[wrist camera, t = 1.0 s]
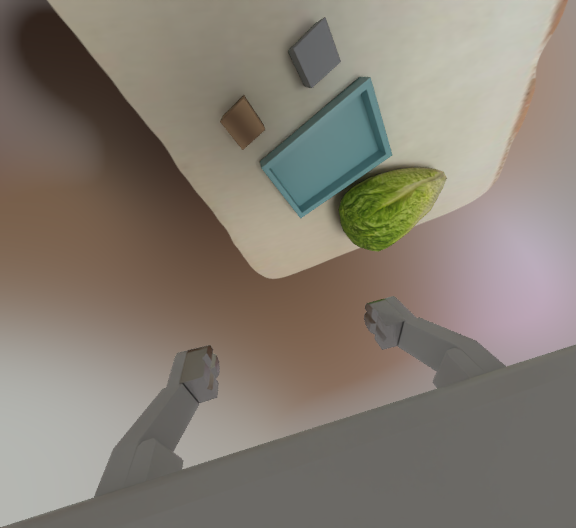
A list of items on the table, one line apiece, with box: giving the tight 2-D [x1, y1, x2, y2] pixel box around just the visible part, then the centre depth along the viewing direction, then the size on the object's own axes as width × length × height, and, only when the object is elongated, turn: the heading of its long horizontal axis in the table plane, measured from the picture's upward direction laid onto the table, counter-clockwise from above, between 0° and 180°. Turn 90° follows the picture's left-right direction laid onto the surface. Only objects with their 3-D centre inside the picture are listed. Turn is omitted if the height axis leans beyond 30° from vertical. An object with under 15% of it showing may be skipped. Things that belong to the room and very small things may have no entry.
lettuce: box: [339, 167, 447, 251], centre depth 47 cm, size 15×24×16 cm
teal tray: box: [260, 77, 392, 218], centre depth 41 cm, size 22×14×4 cm, turn 125°
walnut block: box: [220, 95, 265, 150], centre depth 35 cm, size 5×5×5 cm
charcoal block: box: [288, 18, 341, 88], centre depth 31 cm, size 5×5×5 cm
